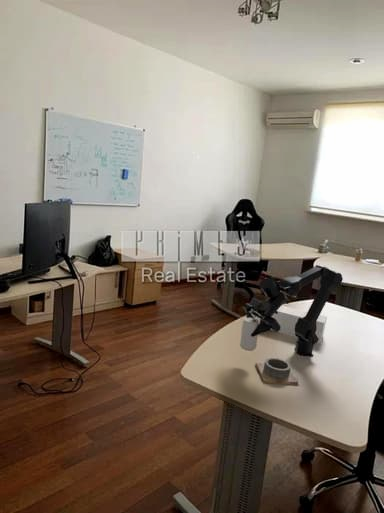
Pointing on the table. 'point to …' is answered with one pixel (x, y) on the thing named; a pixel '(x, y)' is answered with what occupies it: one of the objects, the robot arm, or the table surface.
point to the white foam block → (290, 317)
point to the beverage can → (249, 334)
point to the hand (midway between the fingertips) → (246, 332)
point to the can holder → (276, 371)
